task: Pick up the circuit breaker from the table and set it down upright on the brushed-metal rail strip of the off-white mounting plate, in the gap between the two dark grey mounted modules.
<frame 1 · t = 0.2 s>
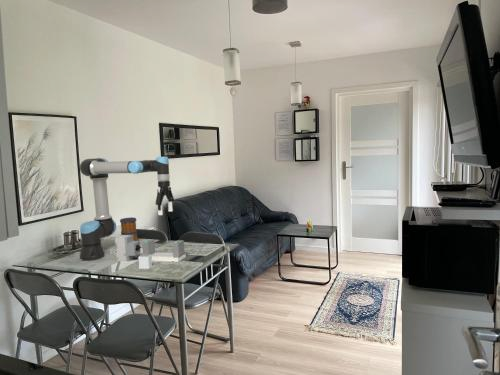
hand: (165, 213, 248), 28 cm above the table, fingers open, 13 cm apart
rail plate: (164, 258, 242), on the table
mug: (131, 245, 282), on the table
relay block: (145, 267, 225), on the table
circuit breaker: (130, 259, 243), on the table
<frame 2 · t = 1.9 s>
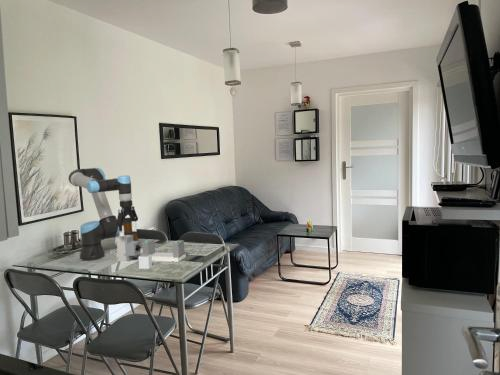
hand: (128, 233, 241), 17 cm above the table, fingers open, 13 cm apart
nothing on the table moved.
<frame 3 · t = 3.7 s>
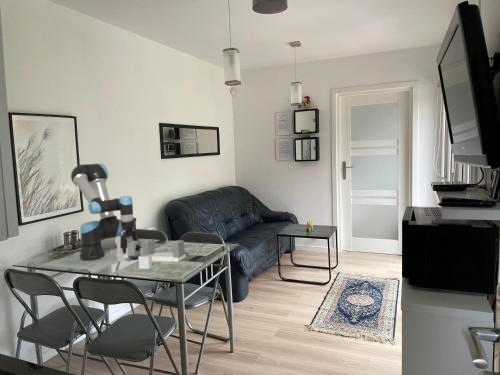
hand: (129, 256, 243), 2 cm above the table, fingers closed on circuit breaker, 8 cm apart
circuit breaker: (130, 259, 243), on the table, touching gripper
everything else where it was.
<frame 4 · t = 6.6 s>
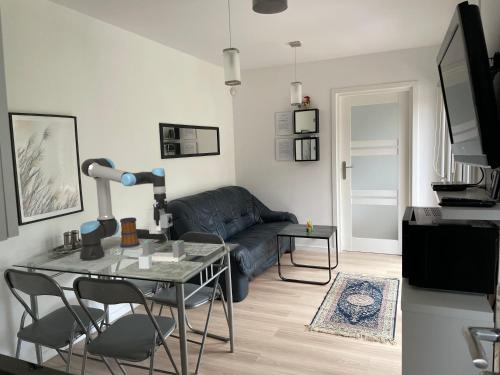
hand: (162, 229, 240), 19 cm above the table, fingers closed on circuit breaker, 8 cm apart
circuit breaker: (162, 232, 241), point 17 cm above the table, touching gripper
everything else where it was.
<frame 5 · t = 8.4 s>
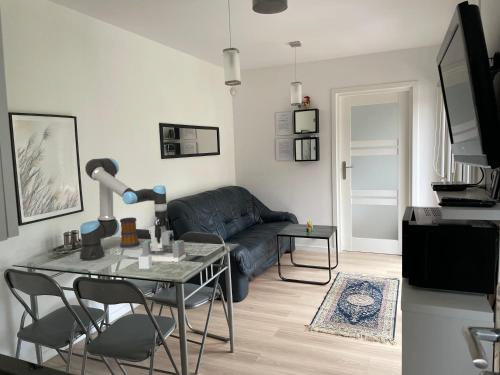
hand: (163, 245, 242), 8 cm above the table, fingers closed on circuit breaker, 8 cm apart
circuit breaker: (163, 249, 242), point 6 cm above the table, touching gripper
everything else where it was.
when the fingers open (6 cm above the table, at t = 9.4 s): circuit breaker drops 1 cm, resting on rail plate.
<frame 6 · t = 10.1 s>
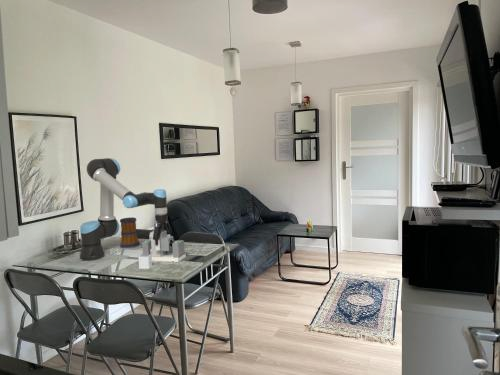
hand: (163, 247, 242), 7 cm above the table, fingers open, 13 cm apart
circuit breaker: (163, 255, 242), point 2 cm above the table, touching rail plate
everything else where it was.
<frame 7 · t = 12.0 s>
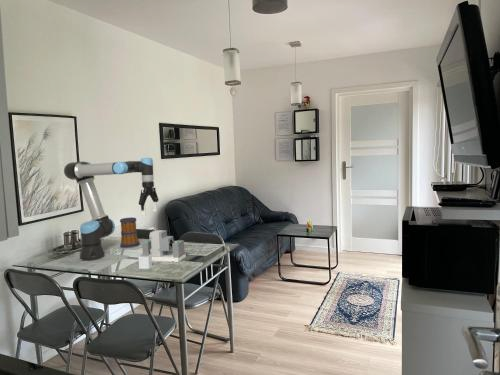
hand: (149, 213, 254), 27 cm above the table, fingers open, 13 cm apart
nothing on the table moved.
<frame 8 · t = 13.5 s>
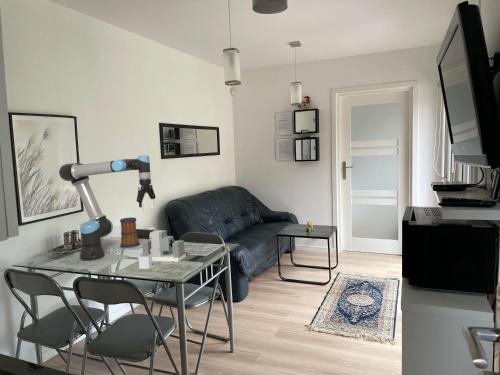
hand: (147, 210, 257), 29 cm above the table, fingers open, 13 cm apart
nothing on the table moved.
at the end: circuit breaker inside the target area on the rail plate (0.0 cm from its centre), point 2.1 cm above the rail plate's base; circuit breaker tilted 0°; the gripper is holding nothing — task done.
